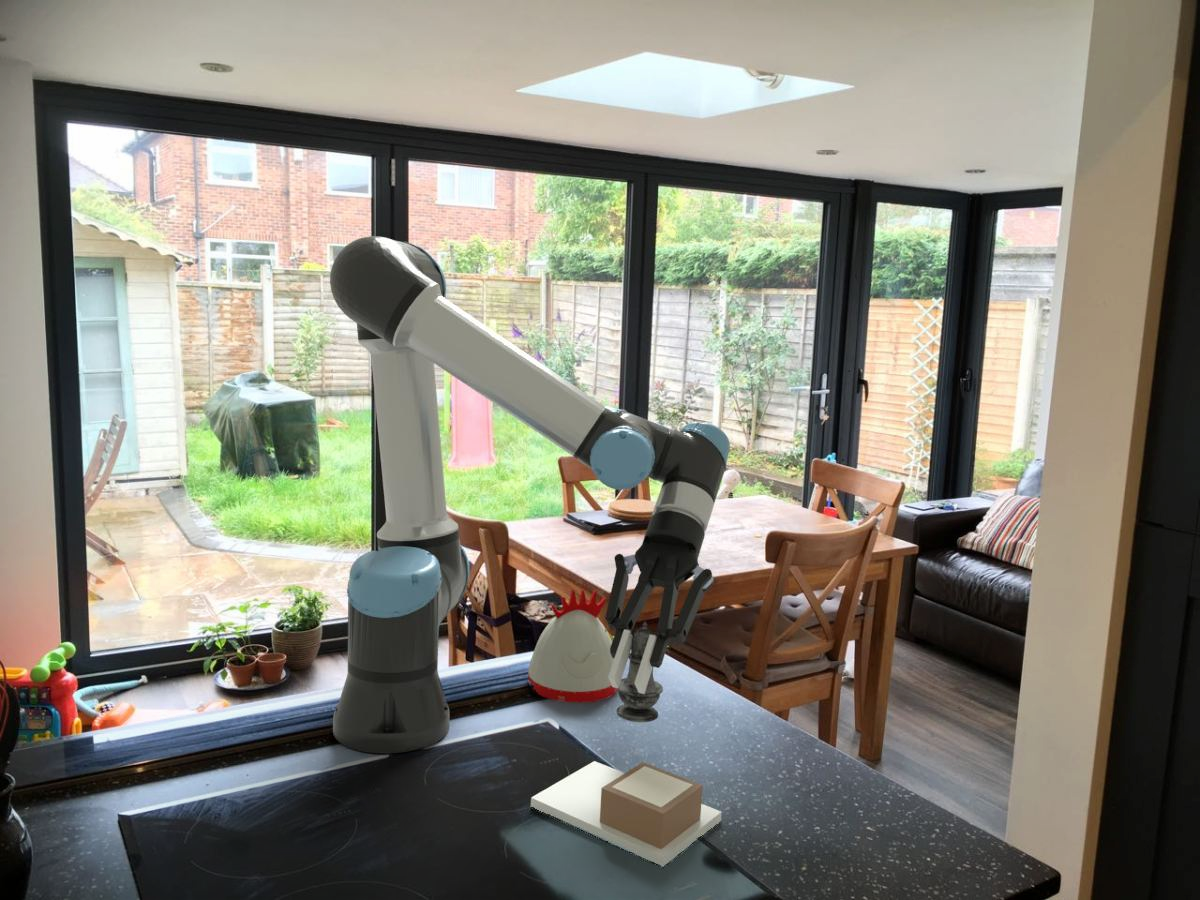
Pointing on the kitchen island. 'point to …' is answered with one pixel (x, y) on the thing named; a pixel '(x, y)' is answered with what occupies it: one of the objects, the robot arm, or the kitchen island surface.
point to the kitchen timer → (573, 654)
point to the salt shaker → (635, 703)
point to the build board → (587, 811)
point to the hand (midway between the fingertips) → (626, 685)
